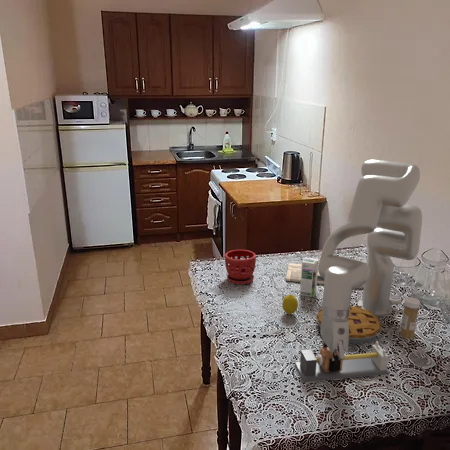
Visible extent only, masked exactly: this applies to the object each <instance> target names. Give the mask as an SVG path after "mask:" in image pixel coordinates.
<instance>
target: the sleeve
mask: <svg viewBox="0 0 450 450" xmlns="http://www.w3.org/2000/svg"><path fill="white" fill-rule="evenodd" d="M336 349H337V348H336ZM319 355H322V357H324V358H325V360H324V362H323V365H321V366H322V368H323V369H324V371H325V372H330V371H329V360H330V359H331V351H330V349H329V348H328V347H323V346H322V347H321V346H320V347H319ZM335 355H338V352H334V356H335ZM342 363H343V359H342V360H341V364H340V371H342Z"/></svg>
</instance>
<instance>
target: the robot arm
mask: <svg viewBox="0 0 450 450" xmlns="http://www.w3.org/2000/svg"><path fill="white" fill-rule="evenodd" d="M360 168H361V172H360V173H361V178H360V179H359V180H358V183H357V185H356V188H355V192H354V196H353V199H352V203H351V206H350V210H349V213H348V215H347V219H346V221H345V222H344V223H343V224H342V225H341V226H339V227H338V228H335V230H334V231H333V232H332V233H331V234H330V235H329V237H327V239H326V241H325V243H324V245H323V248H322V251H321V253H320V258H319V262H318V272H319V274H320V276H321V277H322V278H324V279H325V280H324V285H323V291H322V305H321V308H322V320H321V328H320V336H321V338H322V342H321V346H322V347H328V348H329V349H330V351H331V359H330V360H329V371H330V372H334V371H340V364H341V360H342V359H345V355H346V354H345V352H348V351H349V345H350V343H349V321H348V318H349V312H350V305H351V301H352V294H353V293H352V292H353V291H354V290H357V289H360V288H359V287H361V286H363V285H364V289H363V290H362V298H361V299H359V300H358V301H357V305H358V306H360V307H361V308H362V309H364V310H369V311H371V313H372V314H373V315H376V316H377V317H386V316H389V315H391V314H392V313H393V309H394V308H393V306H394V305H401V304H402V299H401V298H395V296H391V292H392V283H393V275H394V272H395V271H394V269H395V268H394V267H395V266H394V263H393V260H392V259H391V258H396V259H400V260H404V261H405V260H406V261H413V260H415V259H416V258H417V256H418V254H419V252H420V251H419V250H420V244H421V236H422V235H421V234H422V226H423V225H422V223H423V213H422V210H421V208H420V207H418V206H416V205H413V204H408V201H409V200H410V199H411V196H412V194H413V193H414V192H415V190H416V188H417V187H418V184H419V182H420V177H421V170H420V168H419V166H418V165H417V164H414V163H409V162H402V161H401V162H400V161H399V162H398V161H391V160H382V159H368V160H366V161H364V162H363V163H362V165H361V167H360ZM361 235H367V236H366V262H364V261H361V260H358V259H357V260H356V259H352V258H350V257H349V258H348V257H345V256H340V255H337V254H335V252H336V250H337V247H338V246H339V244H341V243H342V242H344V241H345V240H347V239H350V238H353V237H355V236H356V237H357V236H361ZM357 305H356V306H357ZM336 348H337V349H336ZM334 352H338V355H335V356H334Z"/></svg>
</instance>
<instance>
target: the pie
mask: <svg viewBox="0 0 450 450" xmlns="http://www.w3.org/2000/svg"><path fill="white" fill-rule="evenodd" d="M315 319H316V323H317V324H318V325H319V328H320V329H321V320H322V307H321V308H319V309H318V311H317V313H316V315H315ZM348 321H349V345H350V344H352V345H353V344H354V345H359V344H366V343H367V344H368V343H370V342H372V341H374V340H375V339H376V338H377V337H378V335H380V334H381V332H382V330H383V326H382V323H381V322H382V321H381V320H380V319H379V316H376V315H373V314H372V313H371V311H369V310H364V309H362V308H361V307H360V306H358V305H355V306H354V305H351V304H350V312H349V318H348Z"/></svg>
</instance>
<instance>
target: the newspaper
mask: <svg viewBox="0 0 450 450" xmlns="http://www.w3.org/2000/svg"><path fill="white" fill-rule="evenodd" d="M301 269H302V263H291V262H288V267H287V272H286V279H285V280H286V281H287V282H293V283H294V282H295V283H301ZM324 280H325V279H324V278H322V277H321V276H320V274H319V272H318V275H317V285H323V286H324ZM358 289H364V285H363V286H361V287H359V288H358Z"/></svg>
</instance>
